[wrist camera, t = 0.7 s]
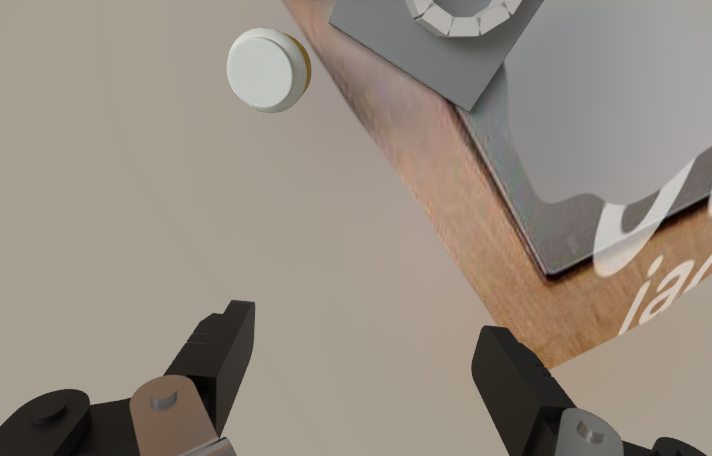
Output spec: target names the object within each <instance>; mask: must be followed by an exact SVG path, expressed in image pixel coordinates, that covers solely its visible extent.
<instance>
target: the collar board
mask: <svg viewBox="0 0 712 456" xmlns="http://www.w3.org/2000/svg"><path fill="white" fill-rule="evenodd" d="M543 1H544V0H338V1H337V4H336V6H335V8H334V10H333V12H332V15H331V17H330V19H329V21H328V22H329V23H330V24H331V25H333V26H334V27H336V28H337V29H339V30H340V31H342V32H344V33H345V34H347V35H348V36H350V37H351V38H353V39H354V40H356V41H358V42H359V43H361V44H362V45H364V46H365V47H367V48H368V49H370V50H372V51H373V52H375V53H376V54H378V55H379V56H381V57H382V58H384V59H386V60H387V61H389V62H390V63H392V64H393V65H395V66H396V67H398V68H400V69H401V70H403V71H404V72H406V73H407V74H409V75H410V76H412V77H414V78H415V79H417V80H418V81H420V82H421V83H423V84H424V85H426V86H428V87H429V88H431V89H432V90H434V91H435V92H437V93H438V94H440V95H442V96H443V97H445V98H446V99H448V100H449V101H451V102H452V103H454V104H456V105H457V106H459V107H460V108H462V109H463V110H465V111H468V112H469V111H470V110H471V108H472V107H473V105H474V104H475V102H476V101H477V99H478V98H479V96H480V95H481V93H482V92H483V90H484V89H485V87H486V86H487V84H488V83H489V81H490V80H491V78H492V77H493V76H494V74H495V73H496V71H497V70H498V68H499V67H500V65H501V64H502V62H503V61H504V59H505V58H506V56H507V54H508V53H509V51H510V50H511V49H512V47H513V46H514V44H515V43H516V41H517V40H518V38H519V37H520V35H521V34H522V32H523V30H524V29H525V28H526V26H527V25H528V23H529V22H530V20H531V19H532V17H533V16H534V14H535V13H536V11H537V10H538V8H539V7H540V5H541V3H542V2H543Z"/></svg>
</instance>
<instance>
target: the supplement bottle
mask: <svg viewBox="0 0 712 456" xmlns="http://www.w3.org/2000/svg"><path fill="white" fill-rule="evenodd" d="M227 76H228V80H229V83H230V85H231V87H232V89H233V91H234V92H235V93H236V95H237V96H238V97H239V98H240V99H241V100H242V101H243V102H244V103H246V104H247V105H248V106H250V107H252V108H253V109H255V110H258V111H261V112H266V113H277V112H282V111H284V110H287V109H288V108H290V107H292V106H293V105H294V104H295V103H296V102H297V101H298V100H299V98H300V97H301V96H302V94H303V93H304V92H305V91H306V89H307V87H308V85H309V82H310V79H311V64H310V59H309V56H308V54H307V52H306V50H305V49H304V47H303V46H302V45H301V44H300V43H299V42H298V41H297V40H296V39H295V38H293V37H291V36H289V35H287V34H285V33H282V32H280V31H278V30H275V29H271V28H265V27H262V28H255V29H252V30H249V31H247V32H245V33H244V34H242V35H241V36H240V37H239V38H238V39H237V40H236V41H235V42H234V44H233V46H232V47H231V50H230V53H229V56H228V61H227Z"/></svg>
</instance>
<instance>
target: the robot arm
mask: <svg viewBox="0 0 712 456" xmlns="http://www.w3.org/2000/svg"><path fill="white" fill-rule="evenodd" d="M254 322H255V303H254V302H249V301H238V300H232V301H231V302H230V304H229V305H228V307H227V308H226V310H225V312H224V313H223V314H216V313H213V314H211V315H210V316H208V317H207V318H205V319H204V320H202V321H201V322H200V323H199V324H198V326H197V327H196V329H195V330H194V332H193V334H192V335H191V336H190V337H189V339H188V340H187V343H185V345H184V346H183V348H182V349H181V350H180V352H179V353H178V355H177V356H176V358H175V359H174V361H173V362H172V364H171V365H170V366H169V368H168V369H167V371H166V372H165V374H164V375H163V376H162V377H158V378H155V379H153V380H151V381H149V382H147V383H145V384H144V385H142V386H141V387H140V388H139V389H138V390H137V391H136V392H135V393H134V394H133V396H132V397H131V398H128V399H124V400H119V401H113V402H107V403H100V404H94V405H90V401H89V397H88V395H86V393H84V392H82V391H80V390H75V389H64V390H58V391H53V392H50V393H47V394H44V395H41V396H39V397H37V398H35V399H33V400H31V401H29V402H27V403H26V404H24V405H23V406H22V407H20V408H19V409H18V410H17V411H16V412H14V413H13V414H12V415H11V416H10V417H9V418H8V419H7V420H6V421H5V422H4V423H3V424H2V425H1V426H0V456H237V455H236V453H235V451H234V449H233V447H232V445H231V443H230V441H229V440H228V439H227V438H226V437H223V438H222V439H220V436H221V434H222V431H223V429H224V426H225V423H226V421H227V418H228V416H229V413H230V410H231V408H232V405H233V403H234V400H235V397H236V395H237V392H238V390H239V387H240V384H241V382H242V379H243V377H244V374H245V371H246V368H247V366H248V364H249V361H250V358H251V354H252V349H253V343H254ZM471 367H472V368H471V370H472V376H473V380H474V382H475V384H476V386H477V388H478V390H479V392H480V395H481V397H482V399H483V401H484V403H485V405H486V407H487V409H488V411H489V414H490V415H491V418H492V420H493V422H494V424H495V426H496V428H497V430H498V432H499V435H500V437H501V439H502V441H503V443H504V445H505V447H506V449H507V451H508V454H509V455H510V456H707V455H705V454H704V453H702V452H701V451H699V450H698V449H696V448H694V447H692V446H691V445H689V444H686V443H684V442H682V441H680V440H677V439H674V438H669V437H661V438H658V439H657V440H656V442H655V444H654V446H653V448H652V450H650V449H647V448H644V447H641V446H637V445H635V444H632V443H629V442H625V441H622V440H621V438H620V436H619V435H618V433H617V432H616V431H615V430H614V429H613V428H612V427H611V426H610V425H609V424H608V423H607V422H605V421H604V420H603V419H601V418H600V417H598V416H596V415H594V414H593V413H590V412H588V411H585V410H582V409H578V408H577V407H576V406H575V404H574V403H573V402H572V400H571V399H570V398H569V397H568V396H567V394H566V393H565V391H564V390H563V389H562V388H561V386H560V385H559V384H558V383H557V381H556V380H555V379H554V377H551V374H550V372H549V371H548V370H547V368H546V367H544V365H543V363H542V362H541V361H540V359H539V358H538V357H537V356H536V354H535V353H533V352H532V351H531V350H530V349H528V348H527V347H526V346H524V345H523V344H522V343H519V342H518V341H517V340H516V338H515V337H514V336H513V334H512V333H511V332H510V330H509V329H508V328H506V327H497V326H486V325H485V326H483V328H482V329H481V332H480V335H479V339H478V342H477V346H476V349H475V353H474V356H473V360H472V366H471Z"/></svg>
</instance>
